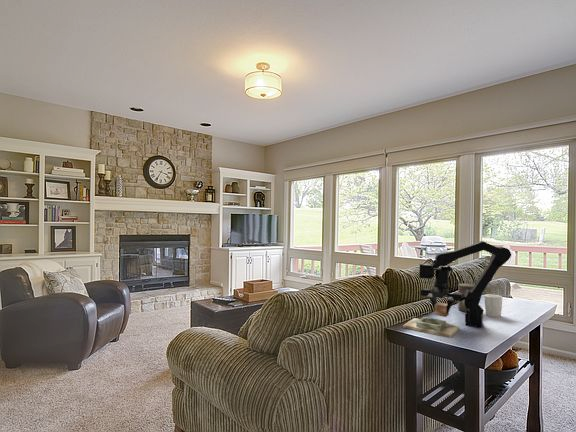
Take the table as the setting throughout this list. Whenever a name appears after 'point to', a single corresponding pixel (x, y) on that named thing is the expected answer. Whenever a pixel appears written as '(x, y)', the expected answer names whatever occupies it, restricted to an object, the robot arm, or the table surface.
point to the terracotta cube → (441, 309)
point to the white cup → (493, 305)
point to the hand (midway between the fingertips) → (441, 312)
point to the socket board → (432, 326)
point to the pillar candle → (462, 289)
